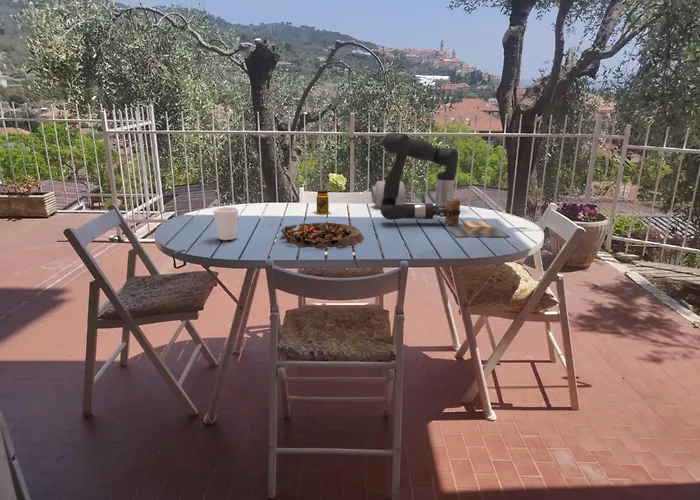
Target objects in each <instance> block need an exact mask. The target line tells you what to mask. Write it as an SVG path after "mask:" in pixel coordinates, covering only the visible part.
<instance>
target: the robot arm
mask: <svg viewBox="0 0 700 500" xmlns="http://www.w3.org/2000/svg"><path fill="white" fill-rule="evenodd" d="M382 146H383V148H384V150H385V151H386V152H387V153H390V154H395V160H394V163H393V165H392V167H391V169H390V170H389V171H388V173H387V175H386V177H385V180H384V181H385V185H384V194H383V199H382V203H381V208H380V214H381V216H382V217H383V218H384V219H386V220H391V221H394V220H401V219H408V220H409V219H411V220H413V219H414V220H433V219H434V216H437V217H440V218H446V217H451V216H452V215H459V216H460V214H461V210H448V209H446V205H447V199H454V195H455V194H454V193H455V181H456V176H457V172H458V163H459V152H458V150H457V149H456V148H449V147H448V148H447V147H435V146H433V144H432V143H430V142H429V141H425V140H422V139H421V140H420V139H414V138H410V137H409V135H407V133H401V132H390V133H387V134H386V135H385V136H384V137H383V140H382ZM407 157H410V158H413V159H415V160H418V161H419V160H420V161H422V162H423V161H424V162H431V163H434V164H436V165H438V166H443V167H445V168H444V169H445V170H444V171H442V172H438V173H437V175H436V188H435V201H434V203H431V202H428V203H426V202H425V203H424V202H423V203H422V202H420V203H419V202H418V203H405V204H403V205H395V204H396V199H397V197H398V192H399V186H400V181H401V178H402V174H403V170H404V167H405V164H406V161H407ZM447 213H449V214H447Z"/></svg>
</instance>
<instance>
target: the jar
mask: <svg viewBox="0 0 700 500" xmlns="http://www.w3.org/2000/svg"><path fill="white" fill-rule="evenodd" d="M384 185H385V180H377V182H375V185H371V193H370V194H371V203H373V204H375V206H376V208H378V209H381V203H382V199H383V194H384ZM369 190H370V189H368V190H367V189H366V191H367V192H368V191H369ZM366 191H364V192H365V193H366ZM360 194H363V192H360ZM406 194H407V190H406V185H405V183H404V181H402V180H400V186H399V192H398V197H397V199H396V204H395V205H403V204H406ZM365 201H367V199H365Z"/></svg>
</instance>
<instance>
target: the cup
mask: <svg viewBox="0 0 700 500" xmlns="http://www.w3.org/2000/svg"><path fill="white" fill-rule="evenodd" d="M213 217H214V220H215V221H214V222H215V227H216V233H217V239H218V241H223V242H228V241H232V242H234V241H235V240H237V238H238V225H239V224H238V221H239V209H238V208H237V207H233V206H222V207H217V208H214V209H213Z"/></svg>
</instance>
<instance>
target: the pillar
mask: <svg viewBox="0 0 700 500" xmlns="http://www.w3.org/2000/svg"><path fill="white" fill-rule="evenodd" d="M446 209H448V210H459V211H461V210H460V209H461V200H460V199H459V198H453V199H447V205H446ZM447 214H449V213H447ZM444 220H445V221H444V223H445V225H446V224H447V225H448V226H447V225H446V226H447V227H452V226H451V225H457V226H456V227H459V222H460V221H459V220H460V215H452V216H451V217H444Z"/></svg>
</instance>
